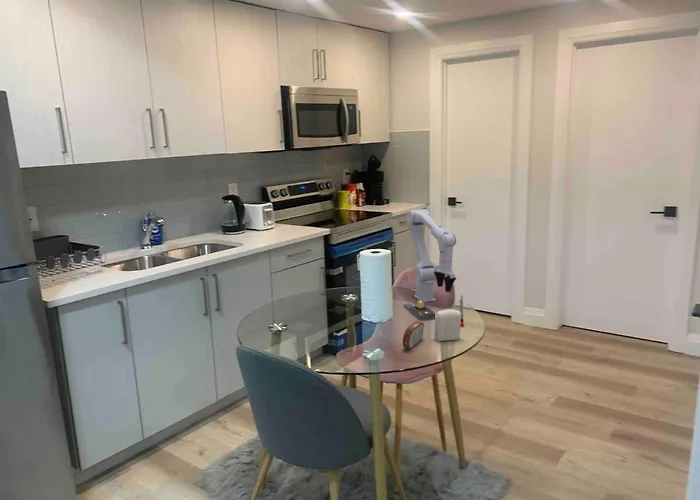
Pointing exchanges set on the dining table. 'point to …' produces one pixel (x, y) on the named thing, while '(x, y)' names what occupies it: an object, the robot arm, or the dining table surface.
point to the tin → (413, 334)
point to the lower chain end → (409, 307)
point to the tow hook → (461, 311)
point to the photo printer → (447, 325)
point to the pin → (420, 304)
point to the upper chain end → (423, 313)
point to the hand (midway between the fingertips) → (443, 289)
